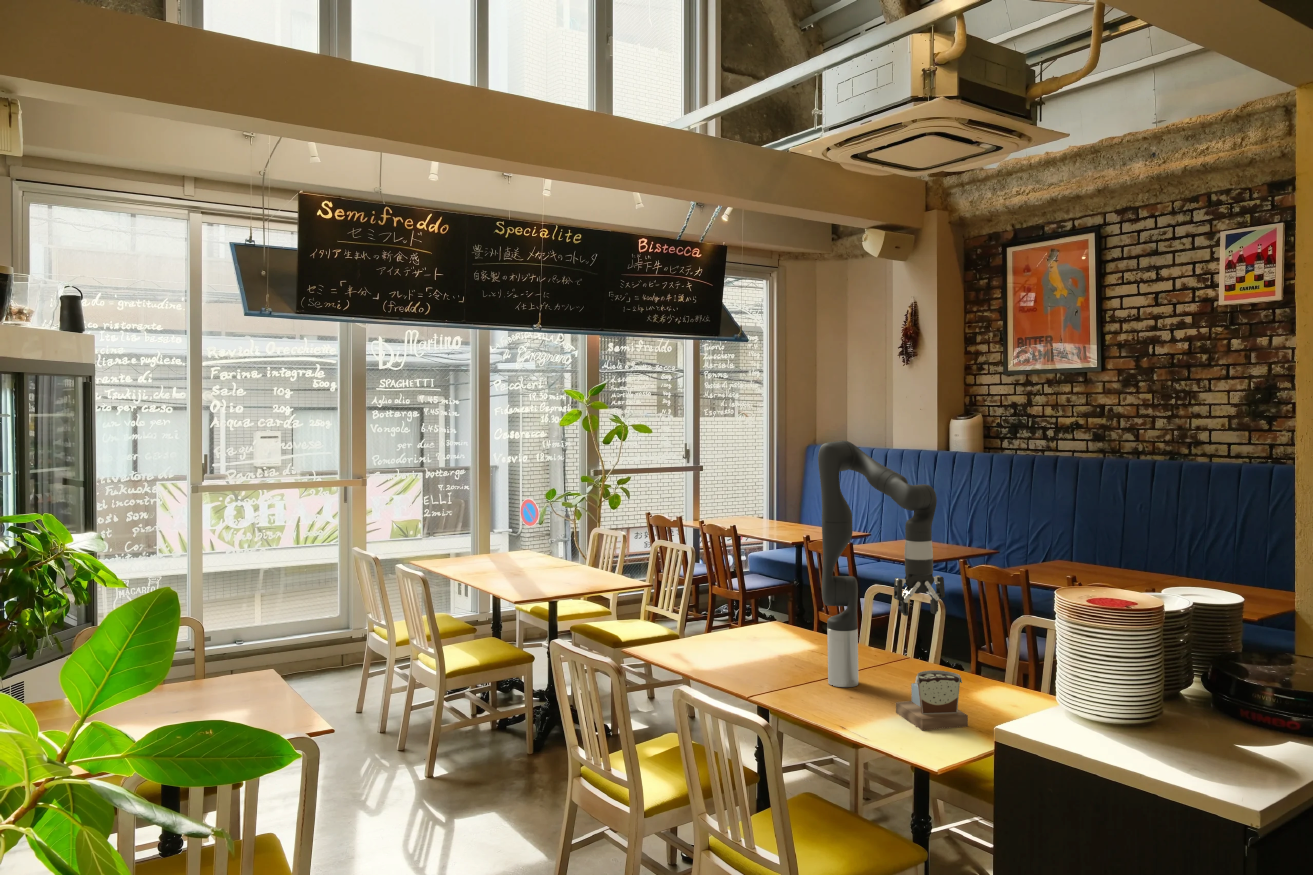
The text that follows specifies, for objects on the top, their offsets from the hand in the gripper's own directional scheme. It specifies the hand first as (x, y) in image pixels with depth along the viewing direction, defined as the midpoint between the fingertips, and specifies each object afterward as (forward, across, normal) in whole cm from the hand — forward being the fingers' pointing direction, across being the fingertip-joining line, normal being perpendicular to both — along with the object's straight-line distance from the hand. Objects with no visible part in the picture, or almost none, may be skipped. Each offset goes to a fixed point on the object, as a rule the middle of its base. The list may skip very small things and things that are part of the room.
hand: (919, 614), depth 247 cm
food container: (+24, -1, -10) cm, 26 cm away
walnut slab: (+27, -2, -8) cm, 28 cm away
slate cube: (+24, -1, -4) cm, 24 cm away
